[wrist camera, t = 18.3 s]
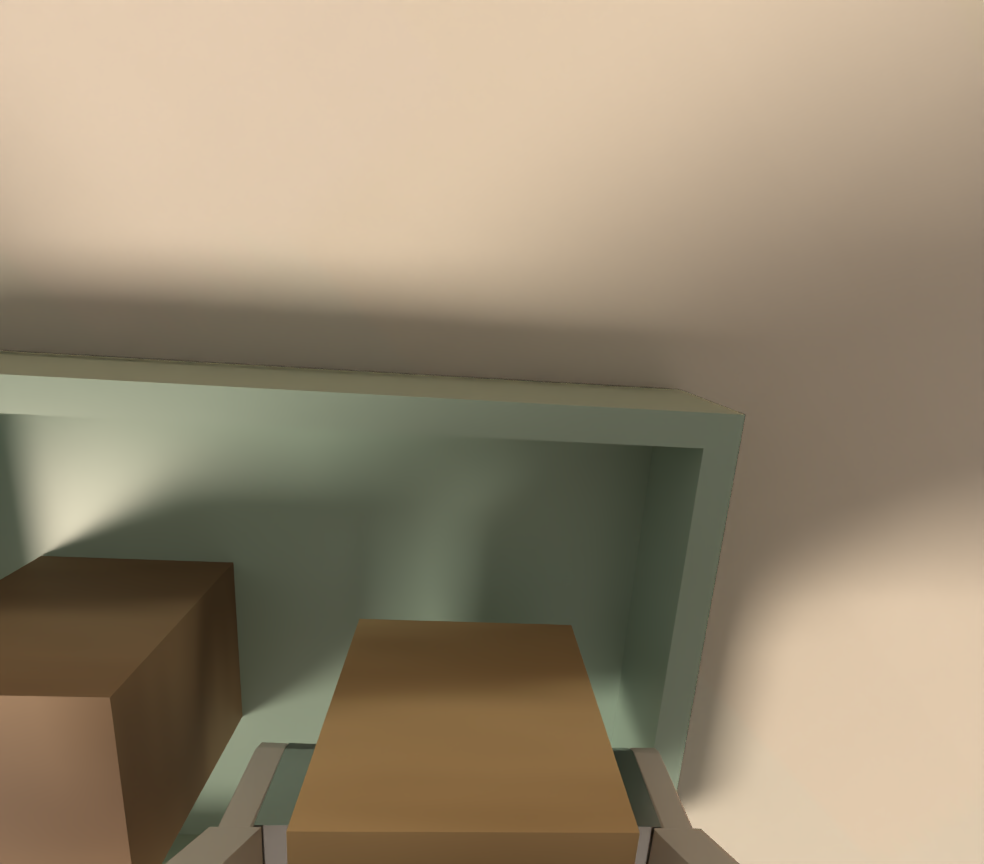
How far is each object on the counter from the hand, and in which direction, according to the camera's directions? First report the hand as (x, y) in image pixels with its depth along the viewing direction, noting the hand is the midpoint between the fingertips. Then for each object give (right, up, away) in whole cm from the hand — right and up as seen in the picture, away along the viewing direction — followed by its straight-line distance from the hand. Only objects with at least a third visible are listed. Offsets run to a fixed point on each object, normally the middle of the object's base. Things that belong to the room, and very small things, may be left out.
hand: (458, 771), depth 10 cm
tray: (-4, +1, +4) cm, 6 cm away
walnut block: (-8, +1, +3) cm, 9 cm away
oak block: (0, 0, +2) cm, 2 cm away
